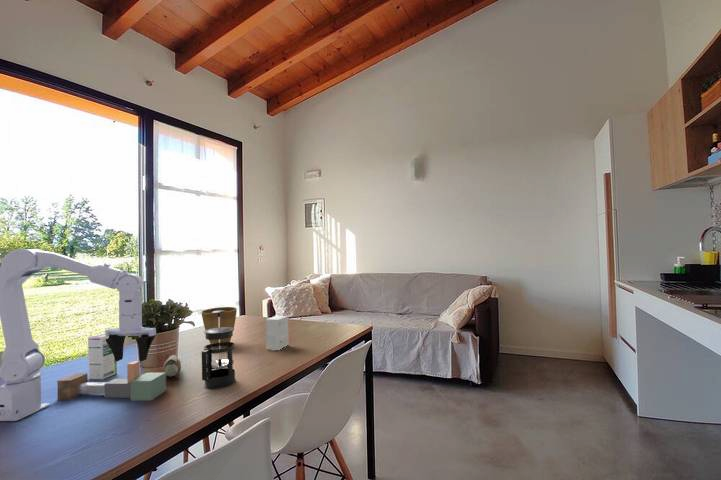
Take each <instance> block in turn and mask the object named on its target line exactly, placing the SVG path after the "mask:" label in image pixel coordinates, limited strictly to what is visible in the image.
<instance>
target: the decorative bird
mask: <svg viewBox="0 0 721 480" xmlns="http://www.w3.org/2000/svg"><path fill="white" fill-rule="evenodd" d="M180 360H181V359H179V357H178V356H177V355H175V354H171V355H170V356H169V357H168V358H167V359H166V360H165V361H164V362H163V365H162V371H163V372H162V373H165V372H166V384H167V383H170V381H169V379H168V377H172V378H173V377H174V379H172V382H174V381H180V380H179V378H178V377H177V374H178V373H179V372H180V371H181V370H182V364H181V361H180Z"/></svg>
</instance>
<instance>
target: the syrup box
mask: <svg viewBox="0 0 721 480" xmlns="http://www.w3.org/2000/svg"><path fill="white" fill-rule="evenodd" d="M107 338H109V336H108V337H106V336H105V332H102V333H98V334H95V335H91V336H88V337H87V349H88V351H87V352H88V354H87V355H88V358H87V359H88V379H89V380H104V379H107V378H110V377H113V376H114V375H117V373H118V368H117V367H118V366H117V363H118V361H115V358H114V355H113V352H112V350H111V348H110V346H109V345H108V344H107V342H106V339H107Z"/></svg>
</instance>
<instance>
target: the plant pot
mask: <svg viewBox="0 0 721 480" xmlns="http://www.w3.org/2000/svg"><path fill="white" fill-rule="evenodd" d="M217 310H224V311H226V312H223V313H221V315H220V327H232V328H234V329H235V325H236V320H237V310H238V309H237V307H234V306H221V307H211V308H208V309H204V310H201V312H200V313H201V319H202V323H203V326H204V329H205V330H208V329H212V328H218V327H219V325H218V317H217V313H212V312H213V311H217ZM205 330H204V331H205ZM231 341H232V337H229V338H226V339H220V342H231ZM208 342H209V344H212V343H217V342H219V340H208ZM217 348H219V346H218V347H217ZM220 348H222V347H221V346H220Z"/></svg>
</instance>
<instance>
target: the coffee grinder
mask: <svg viewBox="0 0 721 480" xmlns="http://www.w3.org/2000/svg"><path fill="white" fill-rule="evenodd" d="M223 312H226V311H224V310H217V311H213V312H212V313H217V317H218V325H219V327H218V328H212V329H208V330H204V331H203V334H205V340H208V341H209V340H219V342H217V343H212V344H210V343H209V344H206V345H205V346H204V347H203V348H204V349H203V350H202V351H201V380H202V382H203V381H204V384H203V386H204V388H205V389H210V390H218V389H224V388H228V387H230V386H232V385H234V384H235V383H236V381H237V379H236V370H235V369H234V367H233V365H234V362H235V361H234V360H233V350H234V349H235V342H232V341H230V342H220V339H226V338H229V337H231V338H232V337H233V336H234V335H233V334H234V330H235V327H234V328H232V327H220V315H221V313H223ZM218 346H219V347H218ZM220 346H224V347H220ZM222 353H223V354H224V353H227V356H226V357H227V358H221V354H222ZM212 354H218V359H215V360H213V355H212Z"/></svg>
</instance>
